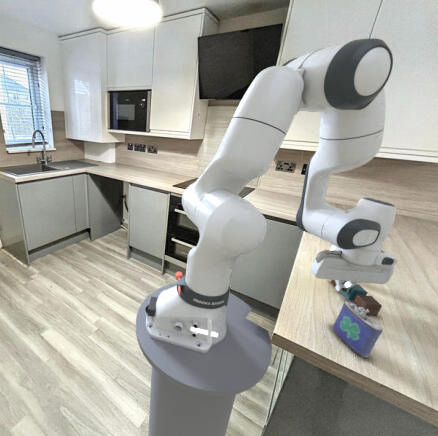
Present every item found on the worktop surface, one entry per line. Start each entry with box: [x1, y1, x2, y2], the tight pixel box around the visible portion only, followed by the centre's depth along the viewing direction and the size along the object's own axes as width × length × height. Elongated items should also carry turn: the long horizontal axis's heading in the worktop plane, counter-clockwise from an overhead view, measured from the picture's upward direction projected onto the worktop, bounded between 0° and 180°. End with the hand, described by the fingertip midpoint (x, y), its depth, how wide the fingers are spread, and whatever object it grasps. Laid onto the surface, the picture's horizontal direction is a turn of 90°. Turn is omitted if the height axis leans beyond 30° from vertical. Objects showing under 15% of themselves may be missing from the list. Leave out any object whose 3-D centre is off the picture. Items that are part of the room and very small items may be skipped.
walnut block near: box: [352, 294, 383, 317], centre depth 68 cm, size 4×4×4 cm
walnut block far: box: [330, 280, 347, 288], centre depth 78 cm, size 4×4×4 cm
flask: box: [331, 301, 384, 359], centre depth 57 cm, size 9×3×11 cm, turn 4°
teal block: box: [340, 282, 369, 302], centre depth 73 cm, size 4×4×4 cm
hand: (341, 290), depth 74 cm, fingers closed
